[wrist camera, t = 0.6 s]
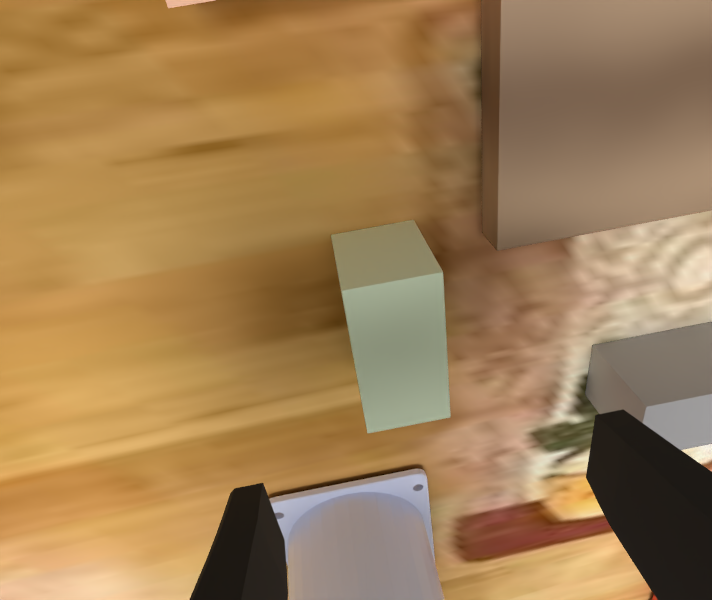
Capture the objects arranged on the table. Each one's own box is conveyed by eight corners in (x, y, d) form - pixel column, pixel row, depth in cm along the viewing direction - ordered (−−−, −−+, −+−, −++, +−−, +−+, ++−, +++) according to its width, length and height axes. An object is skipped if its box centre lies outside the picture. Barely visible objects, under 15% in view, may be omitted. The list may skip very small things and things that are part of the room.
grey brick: (720, 318, 22) (798, 376, 19) (704, 369, 24) (773, 431, 21) (591, 343, 22) (646, 406, 19) (583, 392, 24) (633, 459, 20)
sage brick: (423, 348, 21) (450, 417, 18) (354, 362, 21) (367, 433, 18) (412, 218, 18) (442, 272, 15) (330, 233, 18) (341, 290, 15)
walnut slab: (681, 189, 19) (720, 208, 18) (478, 227, 19) (497, 250, 17) (738, -68, 15) (796, -74, 13) (475, -23, 15) (501, -24, 13)
